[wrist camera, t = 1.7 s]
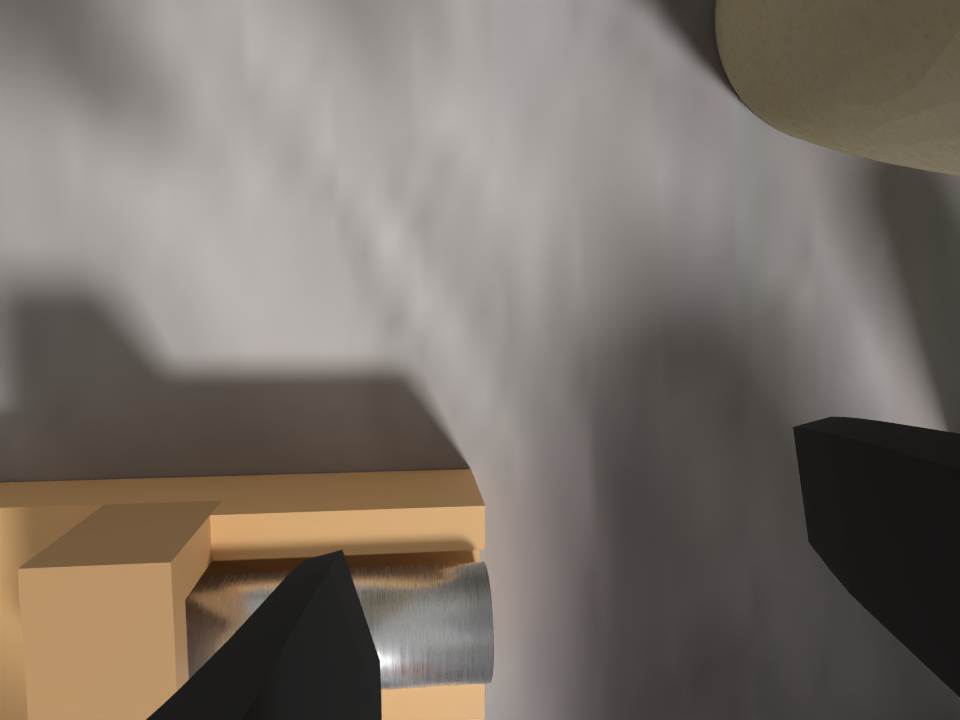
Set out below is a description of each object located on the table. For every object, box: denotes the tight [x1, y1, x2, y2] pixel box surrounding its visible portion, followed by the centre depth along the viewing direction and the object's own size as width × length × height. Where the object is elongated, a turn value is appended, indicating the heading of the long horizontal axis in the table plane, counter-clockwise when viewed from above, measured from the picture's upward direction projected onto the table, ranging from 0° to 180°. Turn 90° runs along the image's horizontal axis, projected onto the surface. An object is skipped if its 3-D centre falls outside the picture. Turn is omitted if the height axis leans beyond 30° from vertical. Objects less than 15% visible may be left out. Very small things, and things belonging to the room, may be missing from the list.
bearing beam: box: [0, 469, 485, 720], centre depth 18 cm, size 14×6×7 cm, turn 90°
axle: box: [185, 562, 494, 690], centre depth 18 cm, size 10×3×3 cm, turn 90°
